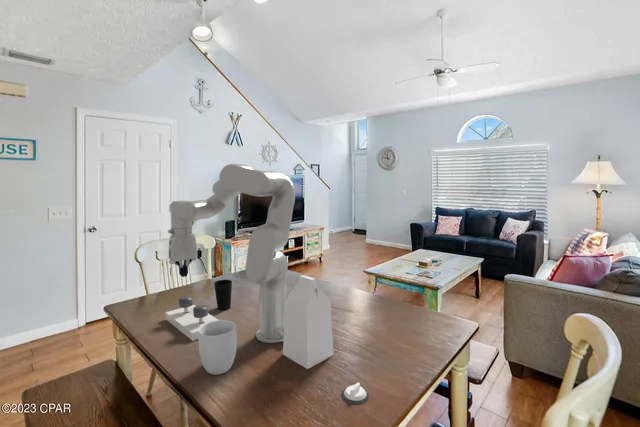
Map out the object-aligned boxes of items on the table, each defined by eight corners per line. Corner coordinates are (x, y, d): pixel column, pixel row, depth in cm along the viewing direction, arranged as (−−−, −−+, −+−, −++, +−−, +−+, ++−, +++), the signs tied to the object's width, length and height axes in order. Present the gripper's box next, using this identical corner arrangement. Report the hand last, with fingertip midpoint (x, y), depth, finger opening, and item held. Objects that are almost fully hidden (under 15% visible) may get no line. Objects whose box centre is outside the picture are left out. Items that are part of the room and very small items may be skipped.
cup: (235, 305, 151) (234, 279, 150) (229, 311, 144) (228, 285, 142) (219, 304, 152) (218, 279, 151) (212, 311, 144) (211, 284, 143)
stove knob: (336, 398, 87) (336, 388, 86) (351, 384, 92) (351, 375, 92) (359, 410, 82) (360, 399, 82) (374, 395, 88) (374, 384, 88)
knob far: (194, 312, 135) (194, 298, 135) (182, 316, 132) (181, 301, 131) (189, 308, 139) (189, 295, 139) (177, 312, 136) (176, 298, 135)
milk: (282, 354, 108) (281, 277, 106) (308, 342, 116) (308, 270, 114) (307, 369, 100) (306, 285, 97) (333, 354, 108) (333, 277, 105)
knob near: (210, 322, 126) (210, 307, 125) (197, 326, 122) (196, 311, 121) (204, 318, 129) (203, 303, 129) (191, 322, 126) (190, 307, 125)
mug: (207, 353, 109) (206, 315, 107) (241, 351, 110) (240, 314, 109) (195, 380, 94) (193, 337, 93) (234, 378, 95) (233, 335, 94)
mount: (223, 330, 126) (223, 322, 125) (192, 341, 117) (192, 332, 117) (194, 311, 144) (194, 304, 144) (165, 319, 136) (165, 312, 136)
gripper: (166, 234, 124) (168, 282, 126) (204, 230, 135) (205, 274, 137) (159, 232, 130) (161, 277, 132) (196, 228, 140) (197, 270, 142)
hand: (183, 275), depth 134 cm, fingers closed
